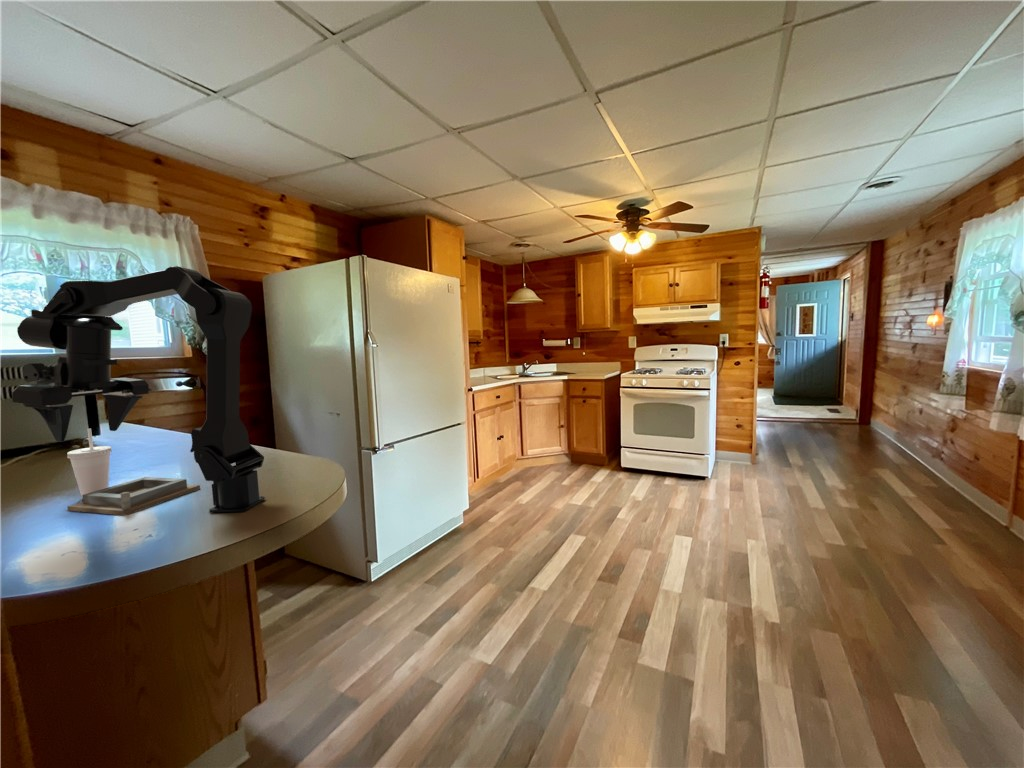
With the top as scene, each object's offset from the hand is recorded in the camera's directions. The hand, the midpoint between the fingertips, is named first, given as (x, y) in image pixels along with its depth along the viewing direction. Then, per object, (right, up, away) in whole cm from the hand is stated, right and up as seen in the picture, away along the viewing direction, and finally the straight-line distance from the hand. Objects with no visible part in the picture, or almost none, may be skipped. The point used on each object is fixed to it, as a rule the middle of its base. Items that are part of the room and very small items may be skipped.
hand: (88, 435), depth 77 cm
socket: (+5, -13, +5) cm, 15 cm away
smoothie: (-6, -14, +8) cm, 17 cm away
